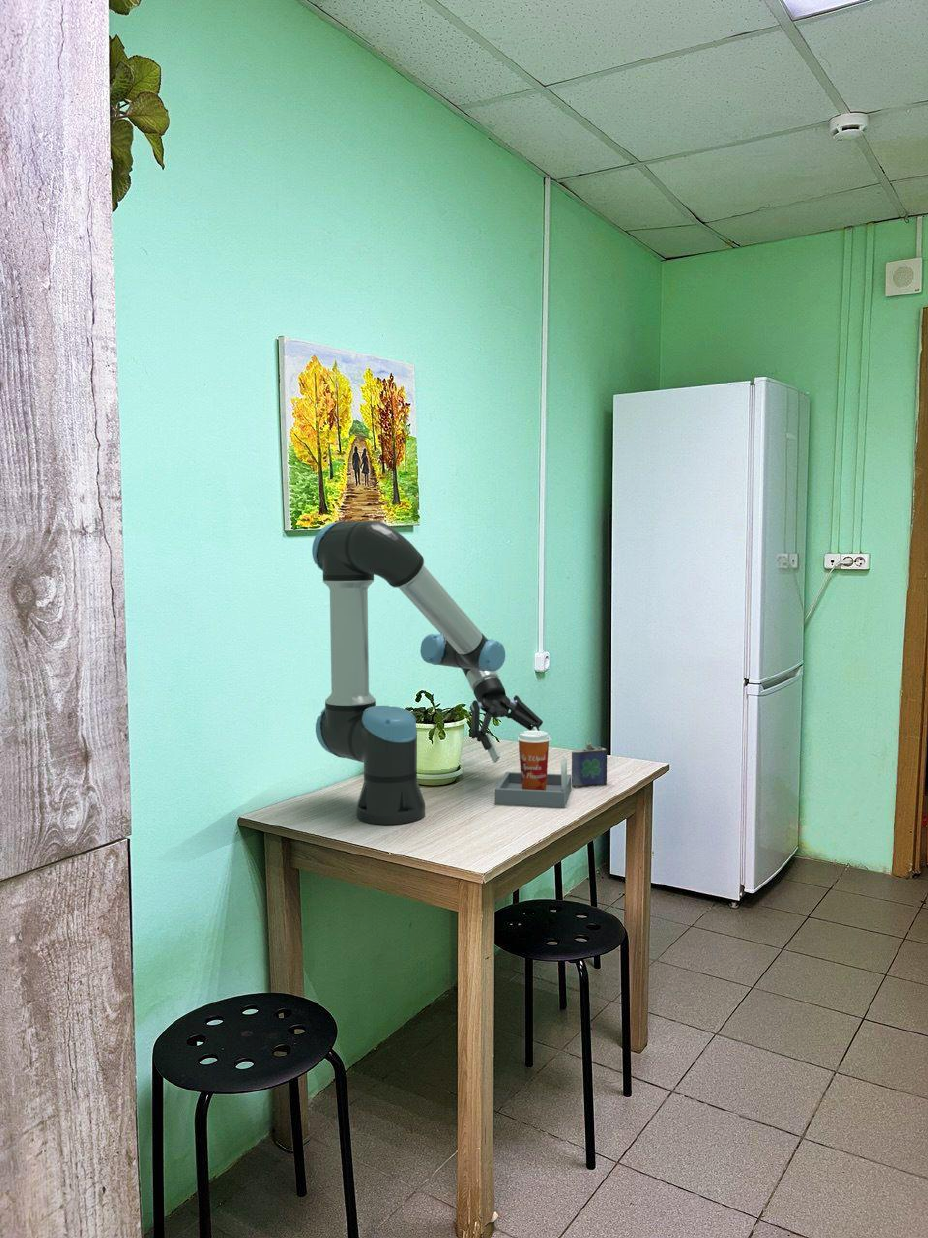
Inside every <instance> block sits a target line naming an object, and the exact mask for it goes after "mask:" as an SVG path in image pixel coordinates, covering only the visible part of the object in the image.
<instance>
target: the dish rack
mask: <svg viewBox="0 0 928 1238" xmlns="http://www.w3.org/2000/svg"><path fill="white" fill-rule="evenodd" d="M493 790H494V792H493V793H494V794H493V795H494V797H493V799H494V800H493V801H494V802H493V803H494V805H501V806H502V805H505V806H519V807H520V806H521V807H538V808H539V807H541V808H542V807H543V808H558V809H559V807H560V809H565V808H566V805H567V802H568V800H569V797H570V794H571V791H572V774H568V757H567V756H564V757H563V759H562V760H561V762H560V773H547V784H546V791H544V790H524V789H522V782H521V771H519V772H518V771H516V772H515V771H506V772H504V774H503V776H502V777H501V779H500V781H499V782H498V783H497V785H496V786H495V788H494V789H493ZM568 796H569V797H568ZM567 799H568V800H567Z"/></svg>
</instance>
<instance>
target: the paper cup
mask: <svg viewBox="0 0 928 1238" xmlns="http://www.w3.org/2000/svg"><path fill="white" fill-rule="evenodd" d="M517 740H518V746H519V749H518V750H519V763H520V765H519V766H520V772H521V782H522V789H524V790H544V791H546V784H547V774H548V766H549V765H548V764H549V751H550V750H549V749H550V748H549V747H550V745H549V744H550V741H552V738H551V737H550V735H549V733H548V732H547V731H544V730H543V731H542V730H540V731H530V730H524V731H521V732H520V734H519V735H518V737H517Z"/></svg>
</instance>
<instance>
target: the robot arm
mask: <svg viewBox="0 0 928 1238" xmlns="http://www.w3.org/2000/svg"><path fill="white" fill-rule="evenodd" d="M311 549H312V550H311V551H312V558H313V561H314V563H315V564H316V565H317V567H318V569H319V570H321V571H322V583H323V584H325V586H327V587H328V590H329V617H330V618H329V621H330V623H329V625H330V674H331V675H330V677H331V679H330V680H331V681H330V682H331V683H330V685H331V686H330V687H331V690H330V691H331V693H330V694H329V695H328V696H327V698H326V699H325V700H324V706H325V707H324V708H323V709H322V710H321V711H320V715H318V717H317V719H316V724H315V734H316V738H317V741H318V743H319V744H320V746H321V748H323V749H324V750H325V751H326V752H327V753H329V754H332V755H333V756H336V757H337V758H341V759H342V758H343V759H348V760H353V761H357V762H359V763H363V784H362V787H361V790H360V793H359V798H358V801H357V804H356V818H357V819H358V820H360V821H362V822H364V823H368V824H372V825H402V824H407V823H412V822H416V821H419V820H420V819H422V818H424V817H425V816H426V801H425V800H424V796H423V793H422V791H421V787H420V785H419V782H418V770H417V769H418V767H417V766H418V750H417V749H418V746H417V745H418V742H417V741H418V729H417V721H416V717H415V715H414V714H413V713H412V712H411V711H410V710H408V709H406V708H402V707H398V706H389V705H377V699H376V697H374V695H372V694H371V692H370V675H369V674H370V671H369V670H370V668H369V667H370V666H369V665H370V664H369V659H370V657H369V656H370V655H369V604H368V603H369V598H368V593H369V591H368V589H369V587H370V586H371V585H372V584H373V583H375V576H377V577H380V578H381V579H382V580H384V581H386V582H387V584H388V585H389V586H391V587H392V588H395V589H396V588H398V589H399V590H400V591H401V592H402V593H403V594H404V595H405V597H406V598H407V599H408V600H409V601H410V602H411V603H412V605H414V606H415V608H417V610H418V611H419V612H420V613H421V614H422V615H423V617H425V618H426V620H427V621H429V623H430V624H431V625H432V626H433V627H434V628H435V629H436V630H437V632H438V633H437V634H436V633H430V634H427V635H426V636H425V637H424V638H423V640H422V641H421V644H420V651H419V652H420V655H421V658H422V660H423V661H424V662H425V663H427V664H430V665H431V664H432V665H433V666H443V667H450V668H451V667H452V668H457V669H461V670H462V672H463V674H464V676H465V678H466V680H467V682H468V685H469V687H470V688H471V690H472V691H473V695H474V697H475V699H476V700H475V699H474V700H472V703H471V704H470V705H469V709H470V713H471V718H470V721H471V722H470V738H472V739H475V738H476V741H477V742H480V743H481V744H482V747H483V749H484V750H485V751H487V752H488V753H489V754H488V755H489V756H490V758H491V760H492V761H491V762H492V763H493V764H495V763H496V764H497V762H498V761H499V759H500V758H501V754H500V752H499V749H498V747H497V745H496V744H495V741H494V739H493V737H492V735H491V733H488V729H489V727H490V724H491V721H492V718H493V719H498V718H504V717H505V718H507V719H511V720H513V721H514V722H516V723H518V724H519V725H520V726H522V727H524V728H525V729H526V730H527V731H541V730H540V727H541V726H542V725H543V723H544V721H543V720H542V719H541V718H540V717H539V716H538V715H536V713H535V712H533V710H531V709H530V708H529V707H528V706H527V704H525V703H524V702H523V701H522V699H521V697H520V696H519V695H514V697H511V698H509V697H508V696H507V694H506V689H505V687H504V685H503V683H502V681H501V679H500V677H499V674H498V673H497V671H499V670H500V669H501V668H502V666H503V665H504V663H505V660H506V649H505V647H504V645H503V643H502V642H500V641H498V640H495V639H489V638H487V637H486V636H485V635H484V633H482V631H481V630H480V629H479V628H478V627H477V625H475V623H474V622H473V621H472V620H471V618H470V617H469V616H468V615H467V614H466V613H465V612H464V610H463V609H462V608H461V606H459V604H458V603H457V601H455V600H454V599H453V597H451V595H450V594H449V593H448V592H447V590H446V589H445V588H444V587H443V586H442V585H441V583H440V582H439V581H438V580H437V579H436V578H435V576H434V575H433V574H432V572H430V570H429V569H428V568H427V567H426V566H425V559H424V556H423V555H422V554H421V553H420V552H419V550H418V549H417V548H416V547H415V546H414V545H413V544H412V543H411V542H410V541H409V540H408V539H407V538H406V537H405V536H403V535H402V534H401V533H400V532H399V531H397V530H396V529H395V528H393V527H391V526H390V525H388V524H386V523H385V522H381V521H378V520H359V521H357V520H355V521H350V520H349V521H347V520H343V521H342V520H341V521H337V522H332V523H329V524H327V525H325V526H323V527H322V528H321V529H320V531H319V532H317V533H316V535H315V537H314V540H313V543H312V548H311ZM480 710H481V711H483V712H484V713H485V714H484V718H483V721H482V724H481V727H480V715H481V713H480V712H481V711H480Z"/></svg>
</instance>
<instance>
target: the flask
mask: <svg viewBox="0 0 928 1238" xmlns="http://www.w3.org/2000/svg"><path fill="white" fill-rule="evenodd" d="M584 744H586V746H585V748H584V749H575V750H572V751H571V788H579V789H581V788H590V787H589V786H592V787H597V786H599V787H601V786H603V785H605V786H607V785H608V753H609V751H608V748H604V747H601V746H593V745H592V742H591V741H586V742H585V743H584Z"/></svg>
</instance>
